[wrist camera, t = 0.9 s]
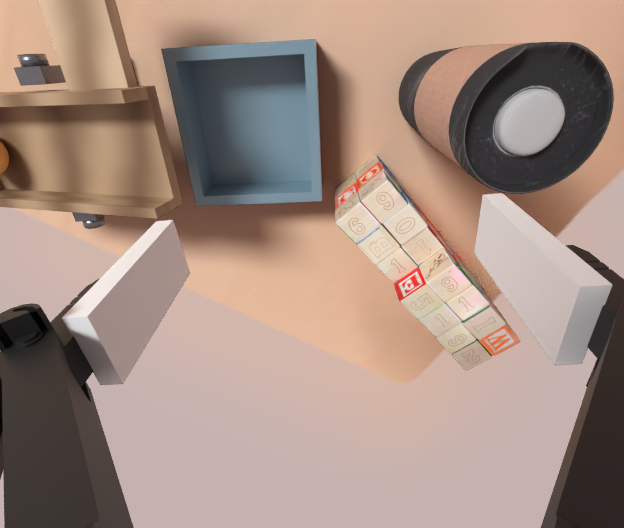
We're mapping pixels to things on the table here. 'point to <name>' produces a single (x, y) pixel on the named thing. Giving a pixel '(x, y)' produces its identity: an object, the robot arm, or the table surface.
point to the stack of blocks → (420, 265)
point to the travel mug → (511, 110)
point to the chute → (88, 126)
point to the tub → (249, 120)
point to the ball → (3, 158)
